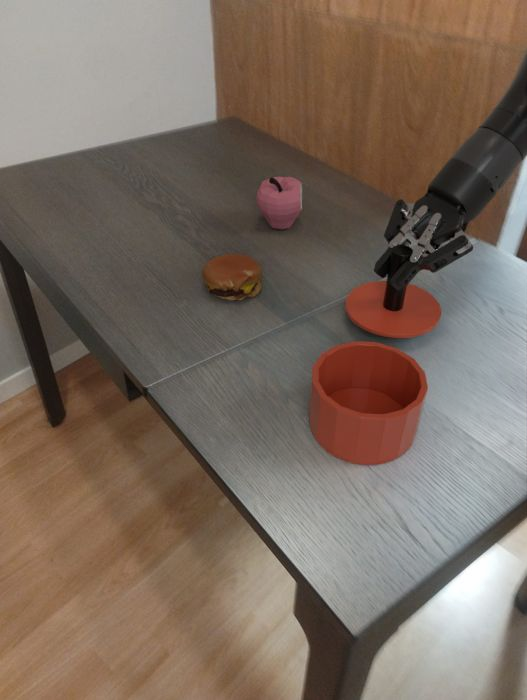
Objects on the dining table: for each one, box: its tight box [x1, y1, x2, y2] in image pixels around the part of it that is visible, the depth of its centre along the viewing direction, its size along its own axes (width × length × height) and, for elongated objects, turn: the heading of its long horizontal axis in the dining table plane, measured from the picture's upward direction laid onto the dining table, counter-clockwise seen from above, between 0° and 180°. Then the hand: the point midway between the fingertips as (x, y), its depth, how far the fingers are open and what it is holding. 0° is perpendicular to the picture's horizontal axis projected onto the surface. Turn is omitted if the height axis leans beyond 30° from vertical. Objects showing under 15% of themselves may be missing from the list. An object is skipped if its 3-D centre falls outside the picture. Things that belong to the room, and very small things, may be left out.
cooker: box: [309, 340, 429, 466], centre depth 61 cm, size 12×12×8 cm
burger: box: [201, 253, 263, 302], centre depth 85 cm, size 10×9×5 cm
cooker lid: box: [345, 245, 442, 339], centre depth 74 cm, size 13×13×10 cm
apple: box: [255, 176, 303, 230], centre depth 99 cm, size 10×9×10 cm
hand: (386, 280), depth 72 cm, fingers closed on cooker lid, 3 cm apart
